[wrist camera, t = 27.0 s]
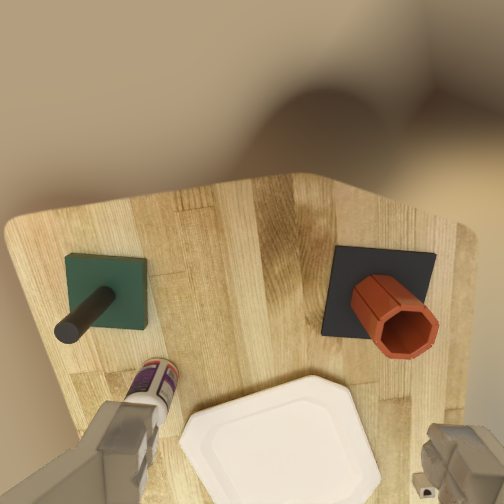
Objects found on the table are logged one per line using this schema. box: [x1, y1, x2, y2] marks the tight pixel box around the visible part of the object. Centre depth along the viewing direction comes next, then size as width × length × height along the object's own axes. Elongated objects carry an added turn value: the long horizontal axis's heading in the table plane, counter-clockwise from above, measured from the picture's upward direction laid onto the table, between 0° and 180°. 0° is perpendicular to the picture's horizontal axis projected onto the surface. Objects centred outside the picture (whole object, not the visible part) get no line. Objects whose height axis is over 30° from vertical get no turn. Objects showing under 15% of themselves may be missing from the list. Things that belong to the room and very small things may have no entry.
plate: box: [179, 375, 381, 504], centre depth 47 cm, size 25×25×2 cm
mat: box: [321, 246, 437, 339], centre depth 40 cm, size 12×12×1 cm
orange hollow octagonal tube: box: [350, 274, 439, 360], centre depth 36 cm, size 6×6×8 cm
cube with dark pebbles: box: [413, 473, 435, 499], centre depth 48 cm, size 2×2×2 cm
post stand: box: [54, 253, 148, 344], centre depth 35 cm, size 9×9×10 cm
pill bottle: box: [123, 358, 178, 428], centre depth 39 cm, size 5×5×10 cm
